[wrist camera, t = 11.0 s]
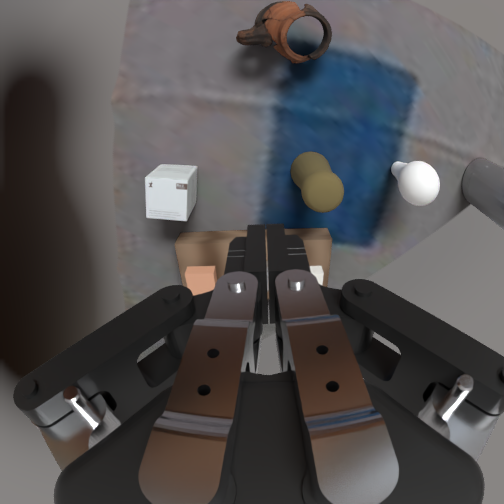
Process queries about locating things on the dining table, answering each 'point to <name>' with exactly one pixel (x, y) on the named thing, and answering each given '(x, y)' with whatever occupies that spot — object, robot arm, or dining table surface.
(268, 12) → the pottery mug
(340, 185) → the olive rounded waisted cylinder
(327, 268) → the key panel
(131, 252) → the dining table surface
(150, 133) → the dining table surface
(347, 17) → the dining table surface
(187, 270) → the terracotta key
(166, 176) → the skincare box
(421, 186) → the lightbulb
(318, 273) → the off-white key
